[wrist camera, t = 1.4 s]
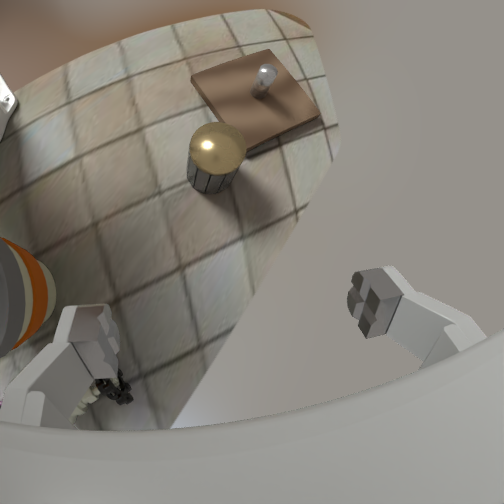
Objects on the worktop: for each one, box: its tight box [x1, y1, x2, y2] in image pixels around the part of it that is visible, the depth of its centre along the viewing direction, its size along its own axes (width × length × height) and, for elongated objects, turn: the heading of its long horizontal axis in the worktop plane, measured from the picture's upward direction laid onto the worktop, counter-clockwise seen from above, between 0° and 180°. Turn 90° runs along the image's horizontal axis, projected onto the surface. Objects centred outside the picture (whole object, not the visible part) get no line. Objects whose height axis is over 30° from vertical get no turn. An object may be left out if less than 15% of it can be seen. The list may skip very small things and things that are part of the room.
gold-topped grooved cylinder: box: [187, 122, 246, 194], centre depth 35 cm, size 6×6×8 cm
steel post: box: [250, 64, 278, 99], centre depth 37 cm, size 2×2×6 cm
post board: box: [191, 49, 321, 152], centre depth 41 cm, size 14×14×2 cm
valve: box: [68, 368, 134, 425], centre depth 29 cm, size 7×7×12 cm
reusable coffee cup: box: [0, 237, 56, 358], centre depth 24 cm, size 13×12×15 cm
